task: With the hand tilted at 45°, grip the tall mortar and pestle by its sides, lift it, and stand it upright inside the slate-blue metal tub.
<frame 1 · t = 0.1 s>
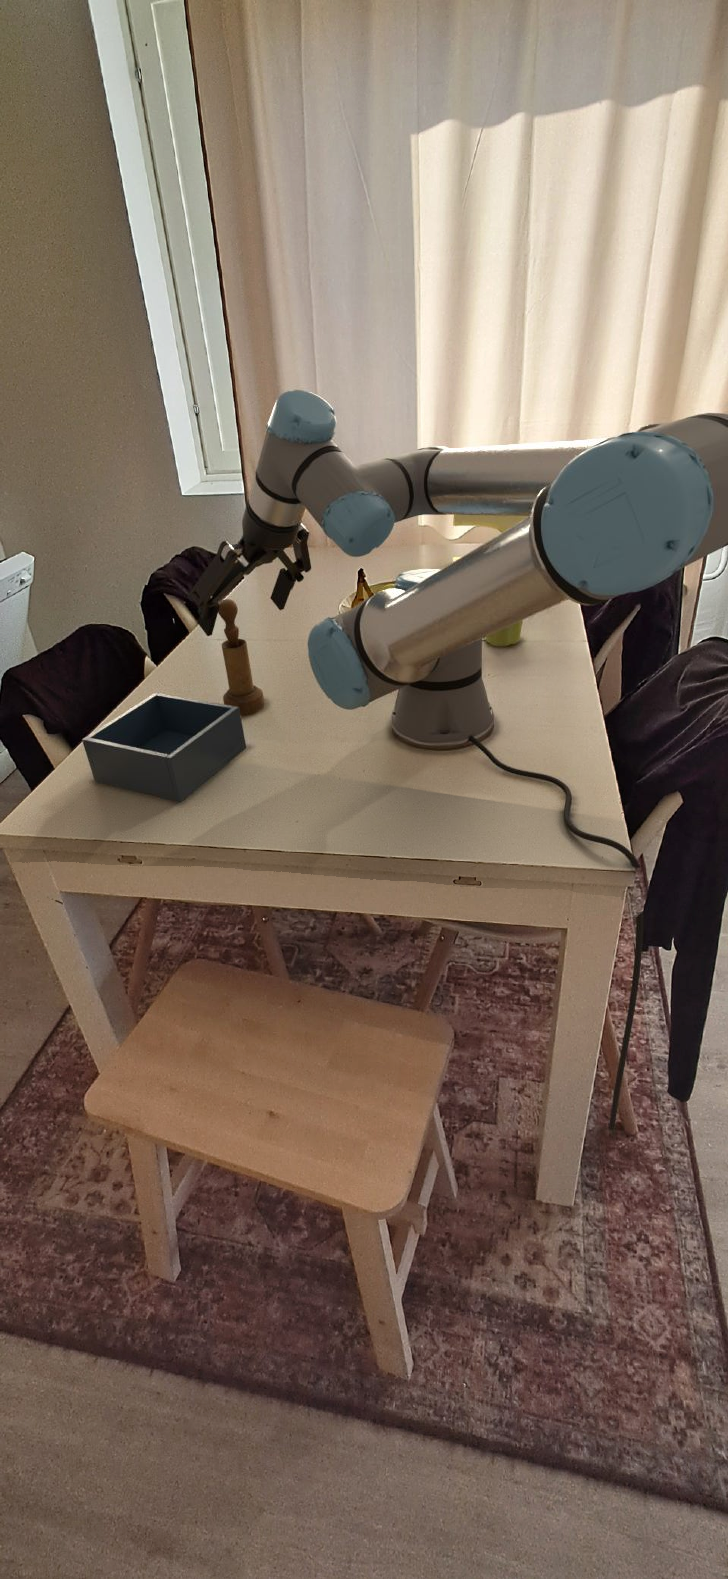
hand: (241, 616, 118), 15 cm above the table, tool tilted 35°, fingers open, 13 cm apart
mortar and pestle: (245, 708, 126), on the table
slatted curved stool: (488, 571, 178), on the table
tub: (172, 764, 111), on the table
plant pot: (502, 641, 141), on the table
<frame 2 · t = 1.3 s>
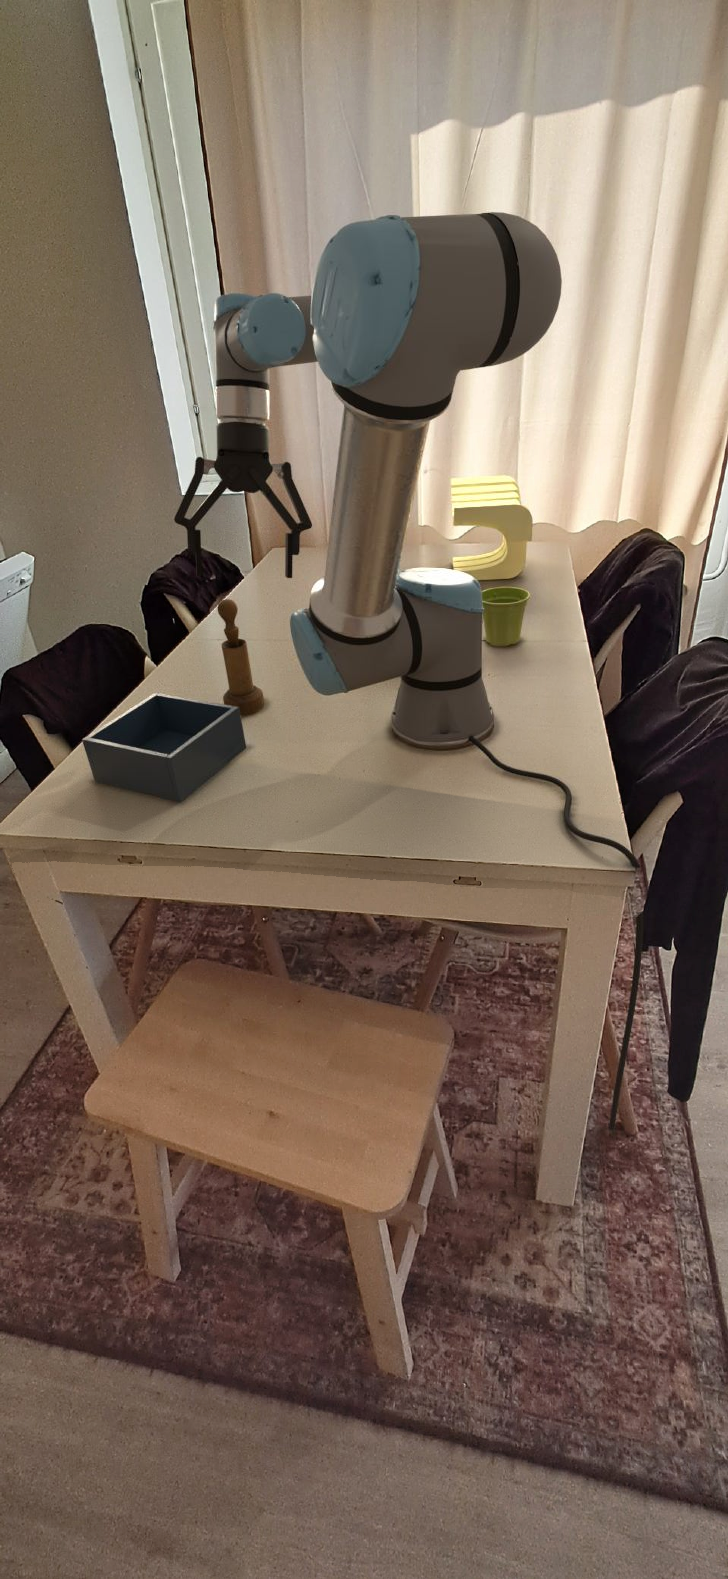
hand: (244, 576, 117), 21 cm above the table, tool pointing down, fingers open, 13 cm apart
nothing on the table moved.
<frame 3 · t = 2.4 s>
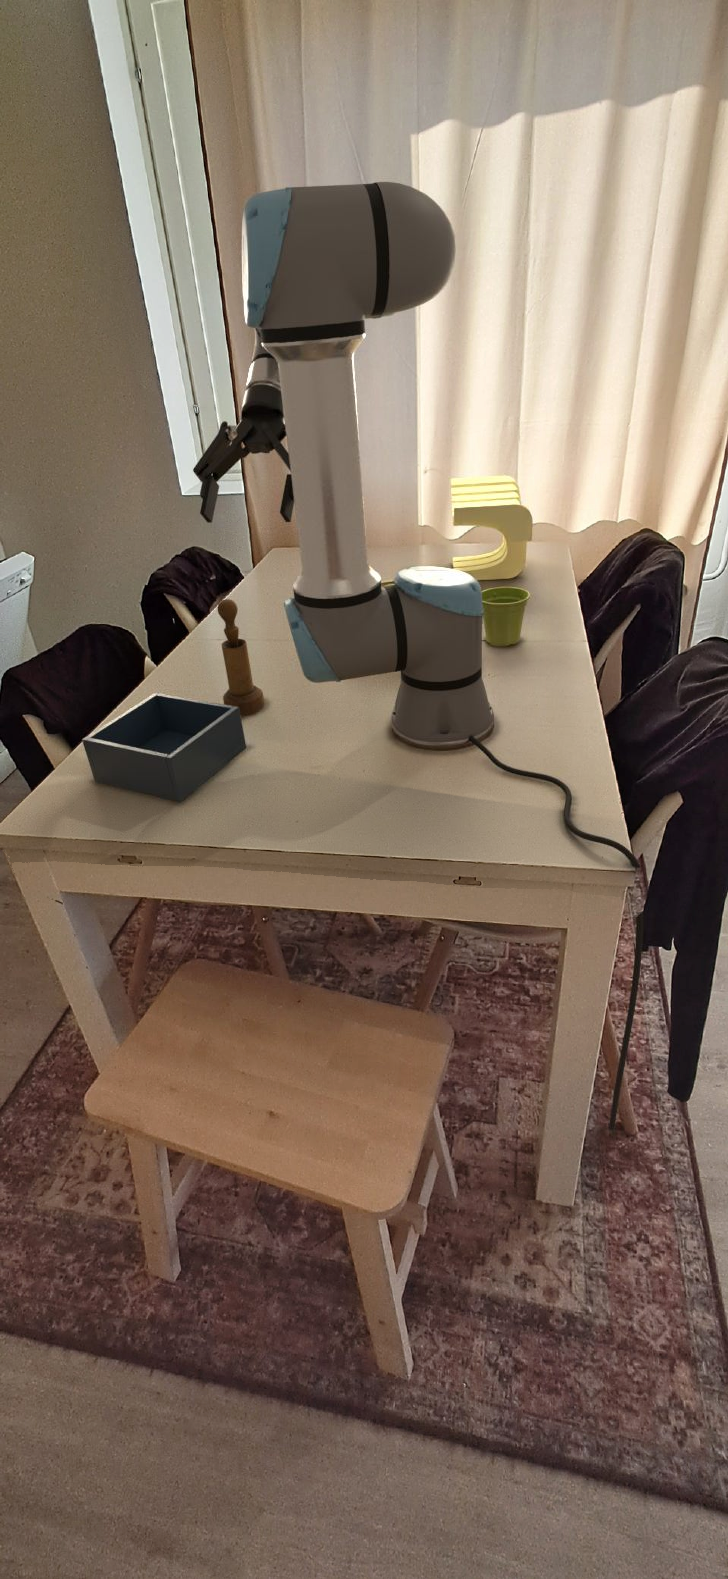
hand: (244, 518, 120), 28 cm above the table, tool tilted 45°, fingers open, 13 cm apart
nothing on the table moved.
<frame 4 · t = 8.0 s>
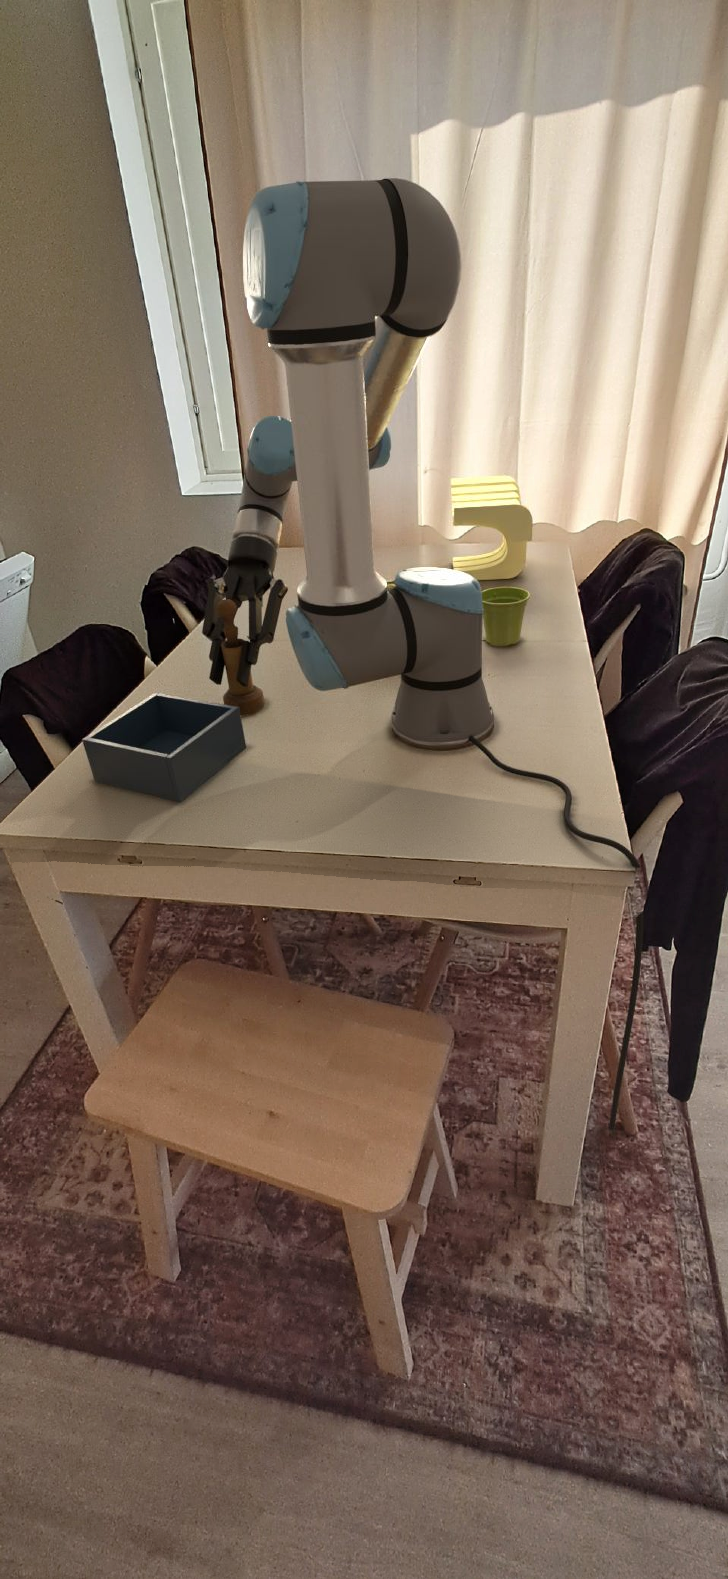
hand: (228, 682, 119), 6 cm above the table, tool tilted 45°, fingers closed on mortar and pestle, 4 cm apart
mortar and pestle: (245, 707, 126), on the table, touching gripper
everything else where it was.
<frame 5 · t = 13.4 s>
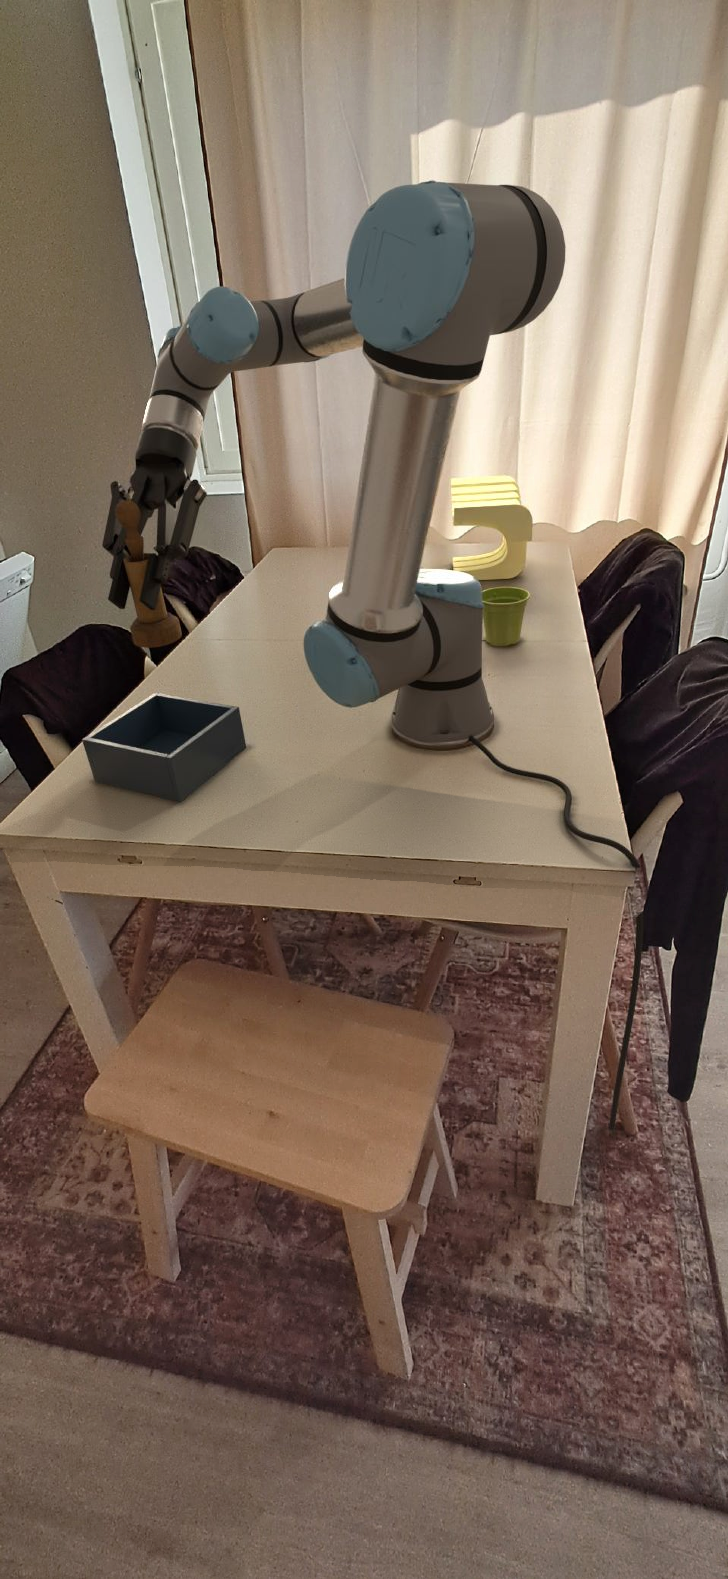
hand: (131, 604, 98), 24 cm above the table, tool tilted 45°, fingers closed on mortar and pestle, 4 cm apart
mortar and pestle: (158, 640, 104), point 18 cm above the table, touching gripper
everything else where it was.
when the fingers open (7 cm above the table, at t = 18.6 s): mortar and pestle stays where it is, resting on tub.
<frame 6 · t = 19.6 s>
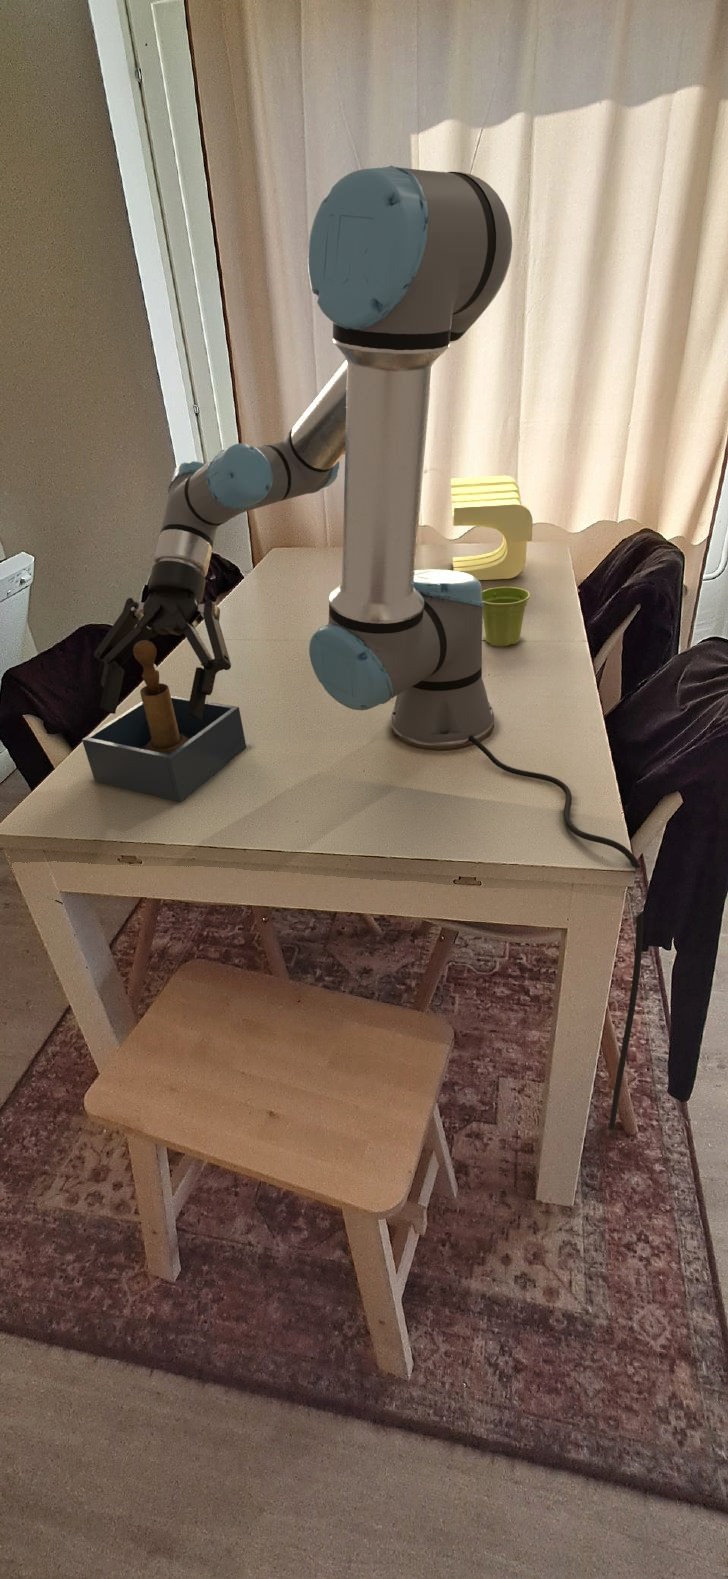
hand: (149, 713, 105), 9 cm above the table, tool tilted 45°, fingers open, 13 cm apart
mortar and pestle: (171, 760, 111), point 1 cm above the table, touching tub
everything else where it was.
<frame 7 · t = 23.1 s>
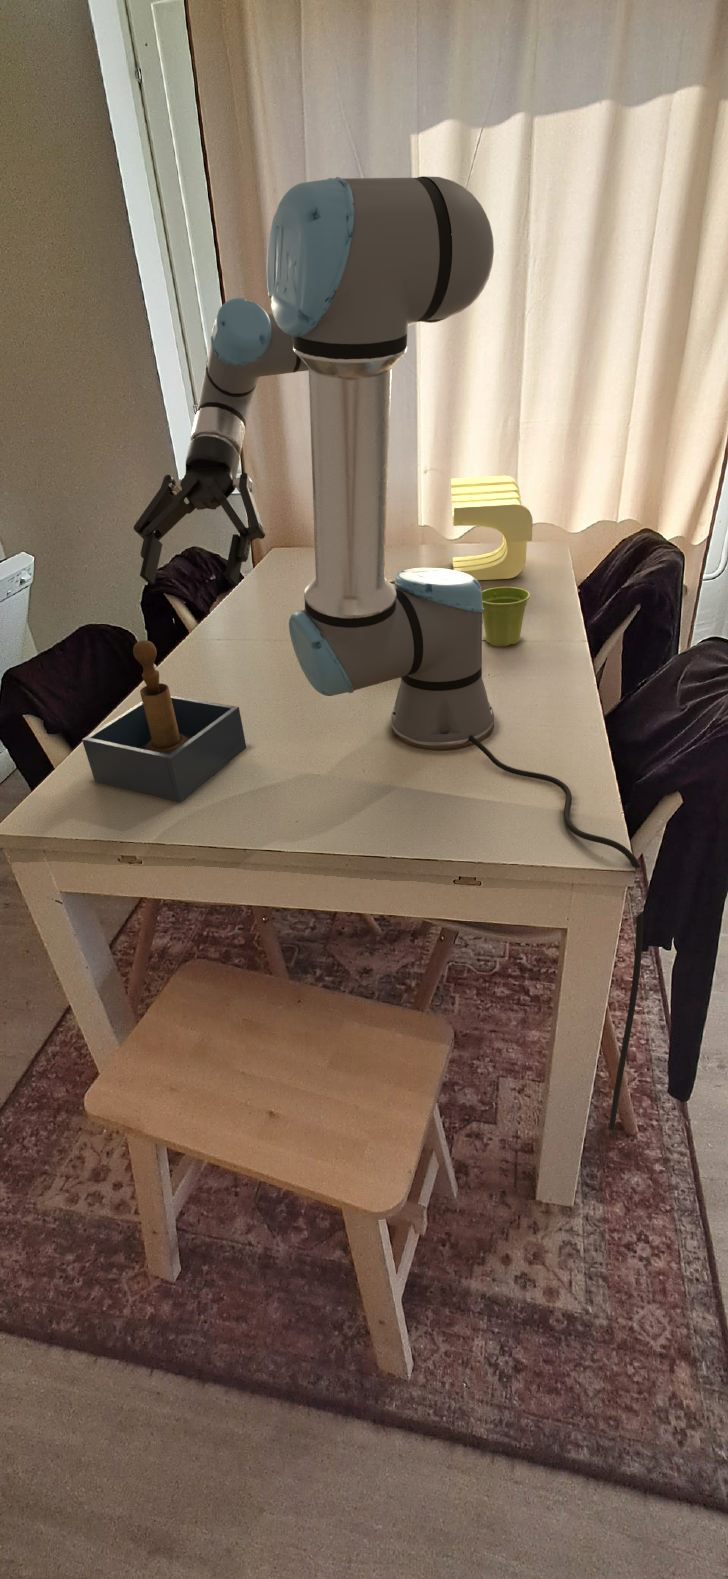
hand: (188, 580, 110), 23 cm above the table, tool tilted 45°, fingers open, 13 cm apart
nothing on the table moved.
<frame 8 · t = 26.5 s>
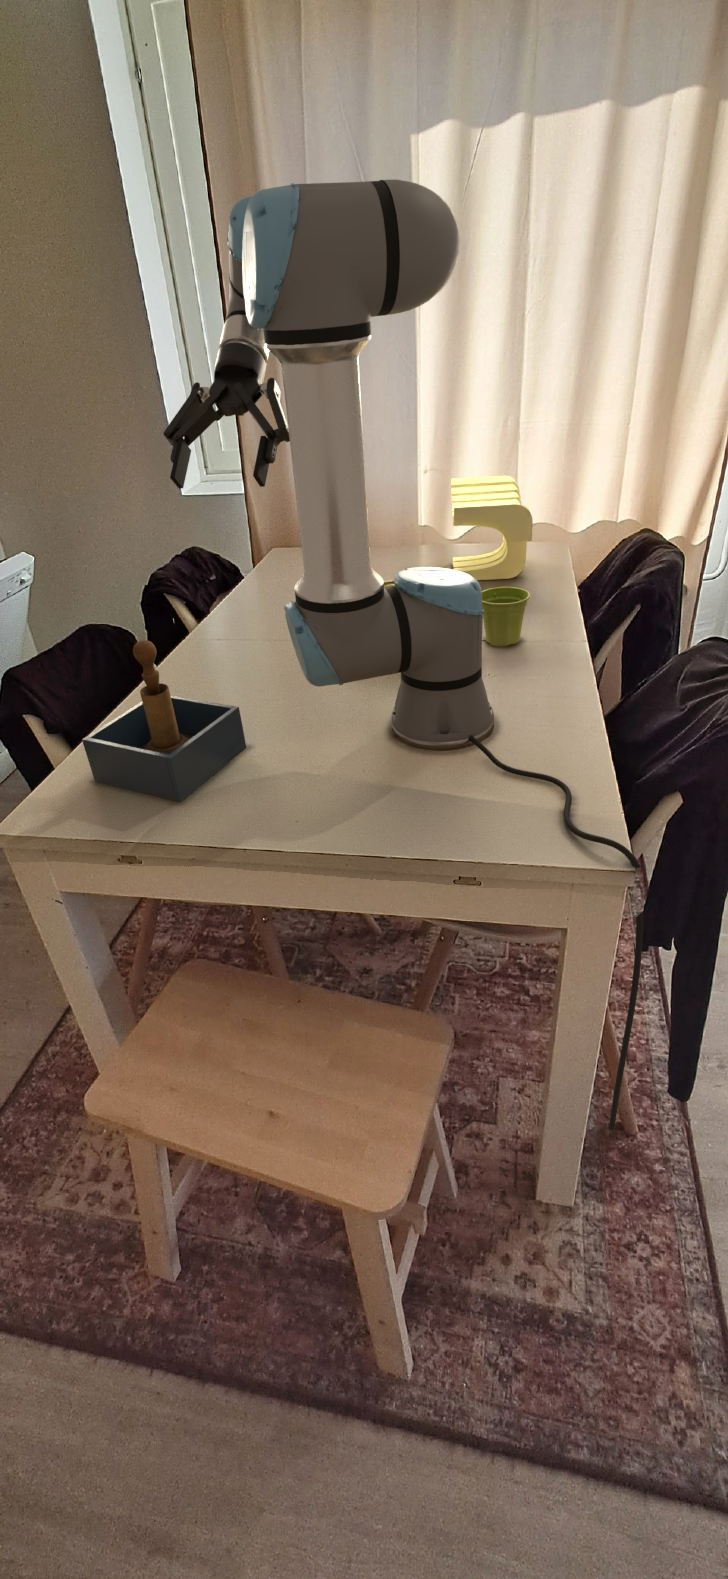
hand: (216, 482, 114), 34 cm above the table, tool tilted 45°, fingers open, 13 cm apart
nothing on the table moved.
at the end: mortar and pestle inside the target area in the tub (0.1 cm from its centre), point 0.6 cm above the tub's base; mortar and pestle tilted 0°; the gripper is holding nothing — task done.
